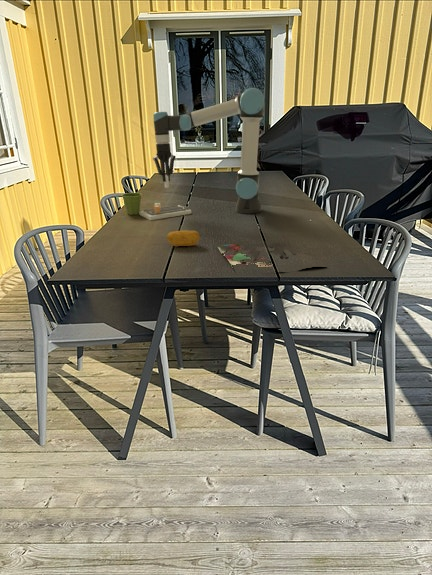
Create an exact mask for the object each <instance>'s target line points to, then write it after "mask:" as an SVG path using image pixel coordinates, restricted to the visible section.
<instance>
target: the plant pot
mask: <svg viewBox="0 0 432 575" xmlns="http://www.w3.org/2000/svg"><path fill="white" fill-rule="evenodd" d="M142 195H143V194H142V193H140V192H127V193H123V194H121V195H120V196H121V197H122V199H123V202H124V206H125V210H126V214H127V215H129V216H133V215H135V216H136V215H139V211H141V201H142Z"/></svg>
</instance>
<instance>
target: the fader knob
mask: <svg viewBox="0 0 432 575" xmlns="http://www.w3.org/2000/svg"><path fill="white" fill-rule="evenodd" d="M153 209H154V213H160V206H155V205H153Z"/></svg>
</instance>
